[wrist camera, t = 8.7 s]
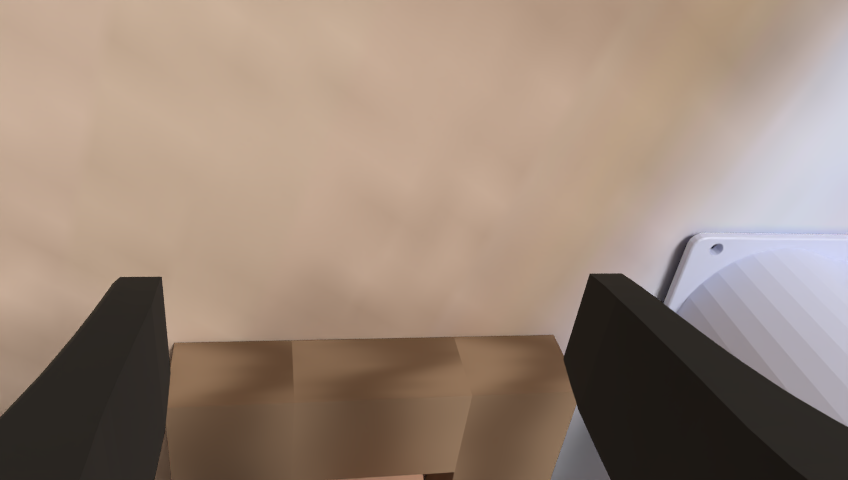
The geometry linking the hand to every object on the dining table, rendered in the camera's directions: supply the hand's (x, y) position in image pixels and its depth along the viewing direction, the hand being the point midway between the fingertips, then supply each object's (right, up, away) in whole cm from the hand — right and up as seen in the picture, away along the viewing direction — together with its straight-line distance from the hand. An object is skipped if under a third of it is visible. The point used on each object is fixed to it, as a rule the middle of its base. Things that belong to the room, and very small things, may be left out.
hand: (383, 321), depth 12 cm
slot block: (-2, -8, +18) cm, 20 cm away
